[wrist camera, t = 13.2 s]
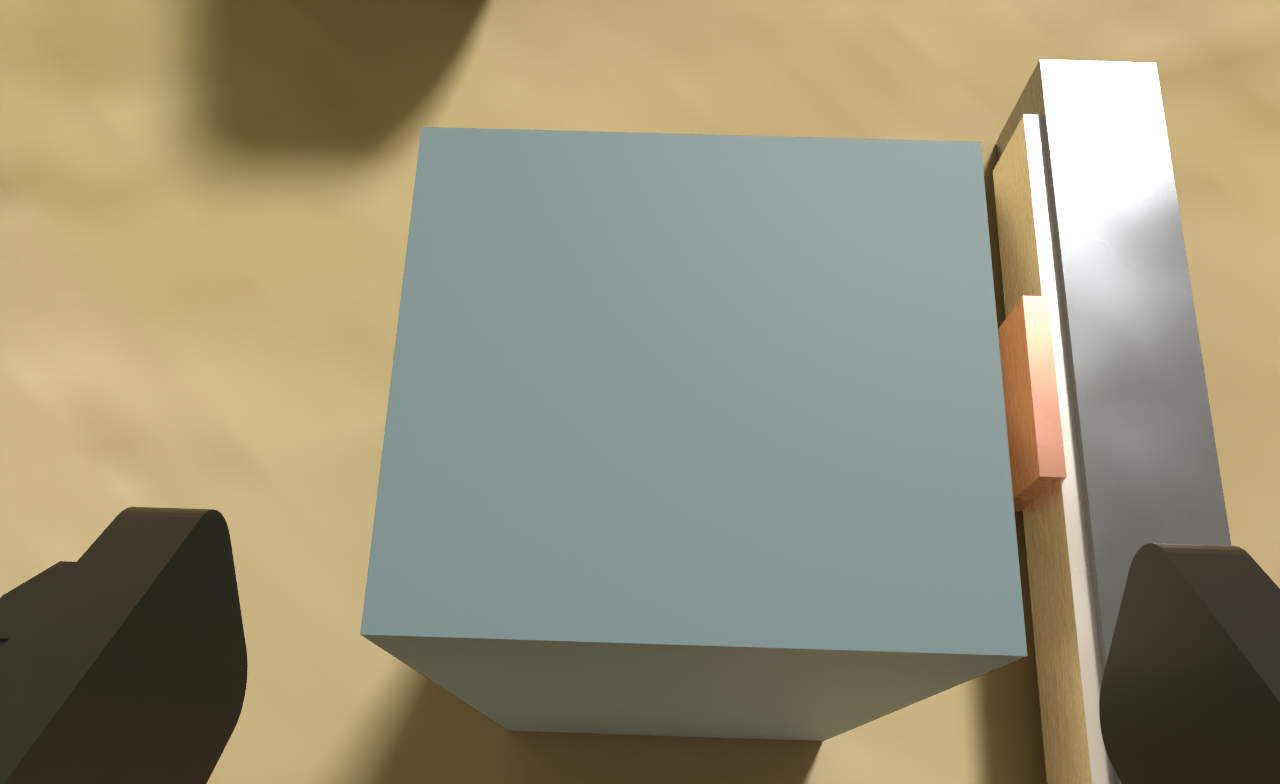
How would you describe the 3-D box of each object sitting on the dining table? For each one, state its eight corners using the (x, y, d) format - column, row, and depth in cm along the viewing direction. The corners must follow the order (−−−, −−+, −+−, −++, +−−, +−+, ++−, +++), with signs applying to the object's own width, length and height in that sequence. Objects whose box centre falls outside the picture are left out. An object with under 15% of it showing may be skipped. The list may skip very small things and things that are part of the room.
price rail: (1247, 1274, 15) (1357, 1358, 13) (1051, 1266, 15) (1126, 1348, 13) (1100, 144, 22) (1156, 63, 19) (963, 139, 22) (1001, 58, 19)
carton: (508, 730, 18) (359, 633, 8) (527, 461, 19) (421, 127, 10) (827, 741, 18) (1037, 655, 8) (820, 469, 19) (990, 141, 10)
